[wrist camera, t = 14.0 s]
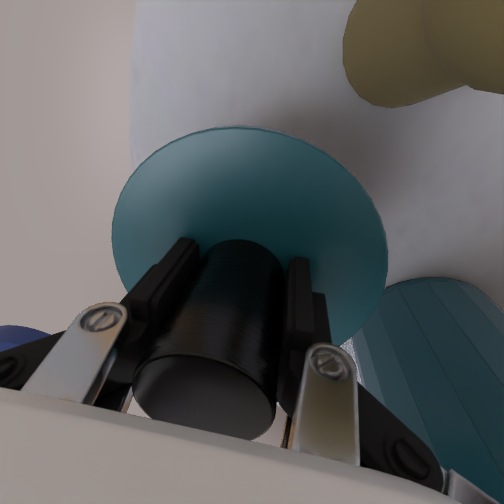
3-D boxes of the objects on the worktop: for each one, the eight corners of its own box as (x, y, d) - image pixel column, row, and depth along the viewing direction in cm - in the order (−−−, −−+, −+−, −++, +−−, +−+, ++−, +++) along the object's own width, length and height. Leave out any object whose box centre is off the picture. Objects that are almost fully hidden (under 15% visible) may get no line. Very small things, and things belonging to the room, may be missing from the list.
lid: (139, 327, 16) (46, 462, 10) (108, 104, 10) (-165, 108, 4) (338, 366, 15) (364, 537, 9) (429, 147, 9) (670, 232, 3)
